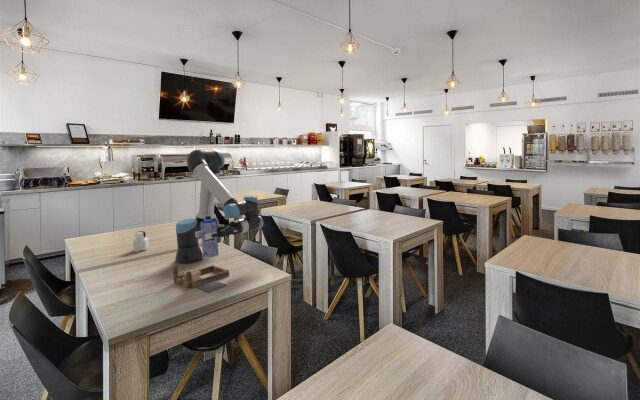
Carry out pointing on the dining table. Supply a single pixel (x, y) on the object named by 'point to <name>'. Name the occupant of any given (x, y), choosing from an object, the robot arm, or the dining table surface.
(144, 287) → the dining table surface
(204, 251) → the aerosol can
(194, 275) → the offcut top
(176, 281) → the rack
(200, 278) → the offcut low
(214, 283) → the mat
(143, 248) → the medicine bottle
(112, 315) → the dining table surface
